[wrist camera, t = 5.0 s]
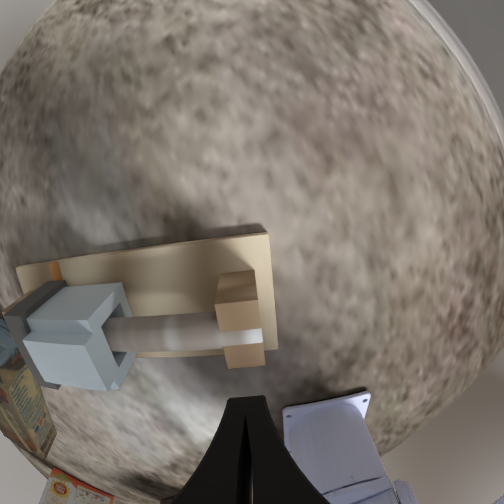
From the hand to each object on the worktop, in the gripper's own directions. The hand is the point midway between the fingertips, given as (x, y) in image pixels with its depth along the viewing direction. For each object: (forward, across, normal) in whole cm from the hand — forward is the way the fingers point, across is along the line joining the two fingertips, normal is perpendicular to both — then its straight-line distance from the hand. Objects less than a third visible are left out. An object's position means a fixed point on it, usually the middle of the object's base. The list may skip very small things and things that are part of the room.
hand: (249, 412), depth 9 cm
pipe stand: (+8, +8, -1) cm, 12 cm away
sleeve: (+7, +10, -1) cm, 12 cm away
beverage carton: (+9, +28, +9) cm, 31 cm away
